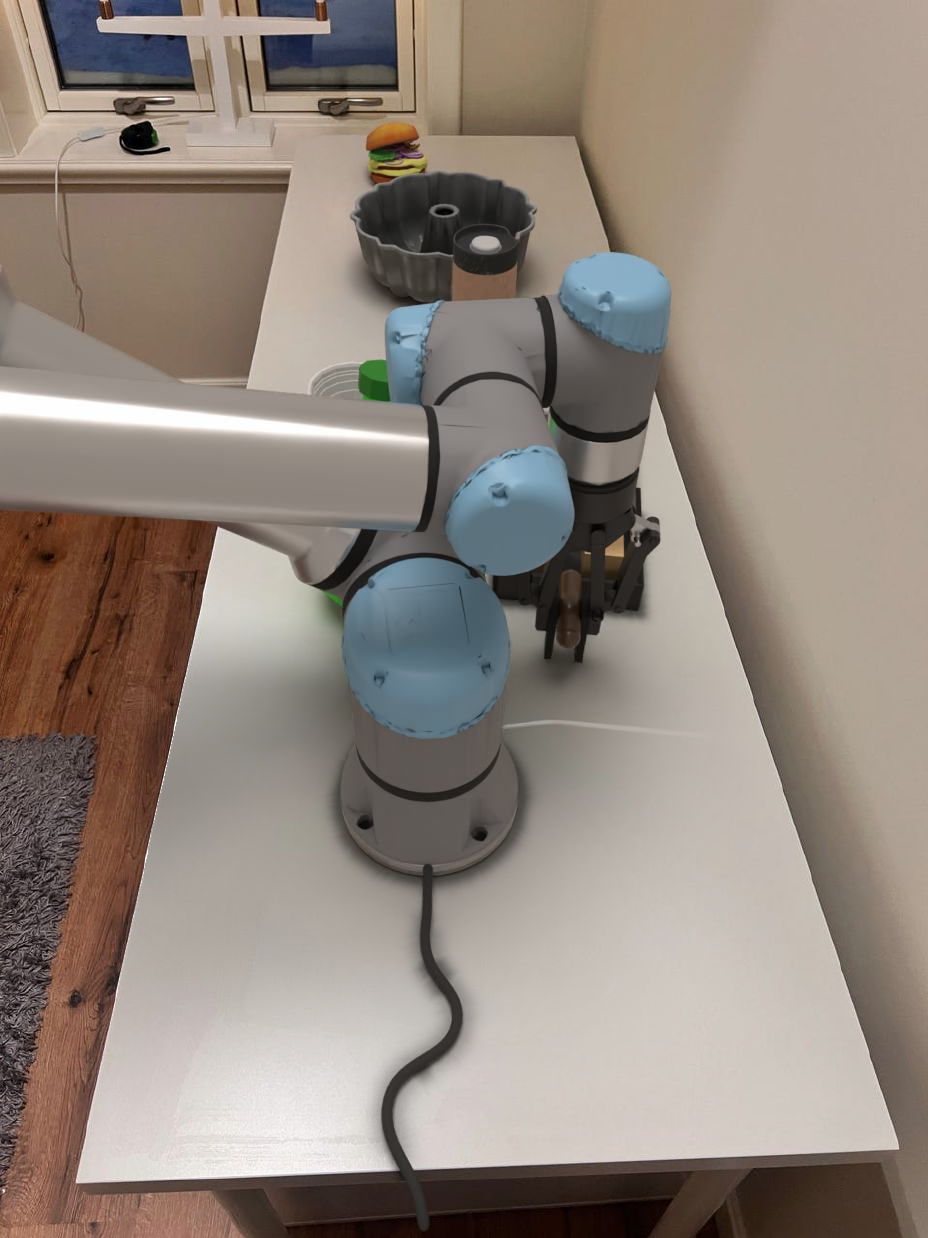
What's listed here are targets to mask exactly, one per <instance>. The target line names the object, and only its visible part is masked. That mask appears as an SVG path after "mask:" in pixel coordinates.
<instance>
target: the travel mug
mask: <svg viewBox="0 0 928 1238" xmlns="http://www.w3.org/2000/svg"><path fill="white" fill-rule="evenodd" d="M517 259H518V238H517V239H515V238H514V237H513V236H512V235H511V234H510V233H509V231H508V229H507V228H505V227H502V226H499V225H493V224H476V225H470V226H467V227H464V228H462V229H460V230H459V231H458V232H457V233H456V234H455V236H454V239H453V278H452V301H468V300H489V299H511V298H517V276H518V274H517Z"/></svg>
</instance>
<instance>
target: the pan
mask: <svg viewBox="0 0 928 1238" xmlns="http://www.w3.org/2000/svg"><path fill="white" fill-rule="evenodd" d="M633 505H634V507H635V510H636V515H638V516H640V517H642V518H643V515H642V513H643V512H642V510H643V509H642V489H641V487H637V486H636V490H635V495H634V500H633ZM629 542H630V530H629V531H628V532H627V533H625V534H624V555H625V552H626V550H627V547H628V545H629ZM581 551H582V550H573V551H569V552H568V556H567V559H566V562H564V566H563V569H562V572H561V576H560V579H559V582H558V586H557V589H556V592H555V593H559V601H558V617H557V624H556V631H555V641H556V642H557V644H558V646H559V647H561V648H563V649H568V650H571V649H575V646H577V645H578V643H579V641H580V635H581V600H582V595H584V596H590V597H591V577H582V576H580V573H581ZM644 571H645V569H644V566H643V567H642V569H641V572H640V574H639V576H638V579H637V581H636V584H635V586H634V589H633V591H632V593H631V596H630V598H629V601H628V603H627V605H626V608H625V610H624V611H634V612H639V609H640V604H641V600H642V597H643V592H644V588H645V574H644V573H645V572H644ZM542 574H543V573H535V572H532V577H533V583H534V584H537V585H539V581H541V578H542ZM614 581H615V579H606V578H605V586H604V591H606V590H611V589H612V586H613V583H614ZM491 585H492V586H491V589H492V590H493V591H494V593H495V594H496V596H497V597H498V599H499V600H506V601H507V600H509V601H518V595H517V584H516V574H515V575H507V576H497V575H492V584H491Z"/></svg>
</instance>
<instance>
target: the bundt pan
mask: <svg viewBox="0 0 928 1238" xmlns="http://www.w3.org/2000/svg"><path fill="white" fill-rule="evenodd" d="M537 211H538V206H537V205H535V204H533V203H531V202H530V197H529V195H528V193H527V192H526V191H525V190H523V189H521V188H519V187H517V186H514V185H510V184H508V183H507V182H506V180H504V179H503V178H491V177H488V176H487V175H484V174H481V173H477V172H471V171H454V172H453V171H452V172H448V171H444V170H434V171H430V172H427V173H425V174H424V173H416V174H407V175H403V176H399V177H397V178H395V179H393V180H391V181H390V182H385V183H376V184H375V185H374V187H373V188H372V189H371V190H368V191H366V192H364V193H362V194H361V195H359V196H357V198H356V200H355V202H354V210H353V211H351V212H350V213H349V219H350V220H351V221H353V222H354V226H355V231H356V235H357V238H358V242H359V246H360V251H361V254H362V257H363V260H364V261H365V263H366V264H367V266H368V269H369V271H370V273H371V274H372V276H373V278H374V279H375V280H376V281H378V282H379V283H380V284H381V285H383V286H385V287H387V288H389V289H390V291H391V292H392V293H393V294H394V295H395V296H397V297H400V298H407V297H411V298H413V299H414V300H415V301H418V302H420V303H427V304H430V303H435V302H437V301H439V300H443V301H445V302H447V301H452V278H453V239H454V236H455V234H456V233H457V232H458V231H459V230H460V229H462V228H464V227H467V226H470V225H476V224H493V225H499V226H502V227H505V228H507V229H508V231H509V233H510V234H511V235H512V236H513V237H514V238H515V239H517V238H518V259H517V275H518V274H519V273H520V271H521V270H522V267H523V265H524V263H525V258H526V254H527V249H528V245H529V241H530V236H531V232H532V231H533V230H534V228H535V225H536V217H535V215H536V213H537Z"/></svg>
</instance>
